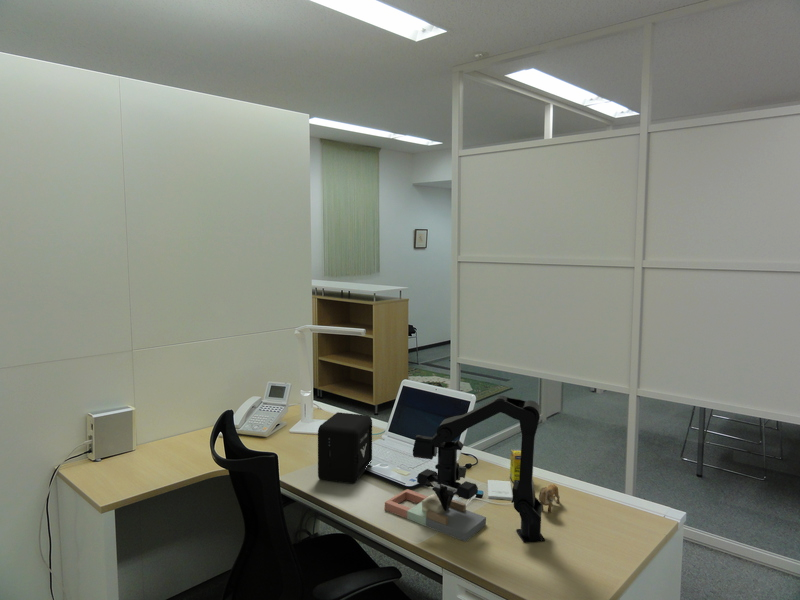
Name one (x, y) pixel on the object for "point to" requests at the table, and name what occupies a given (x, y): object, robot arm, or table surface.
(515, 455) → the supplement box
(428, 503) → the block
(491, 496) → the external hard drive
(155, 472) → the table surface
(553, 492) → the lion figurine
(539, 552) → the table surface
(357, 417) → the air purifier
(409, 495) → the board
